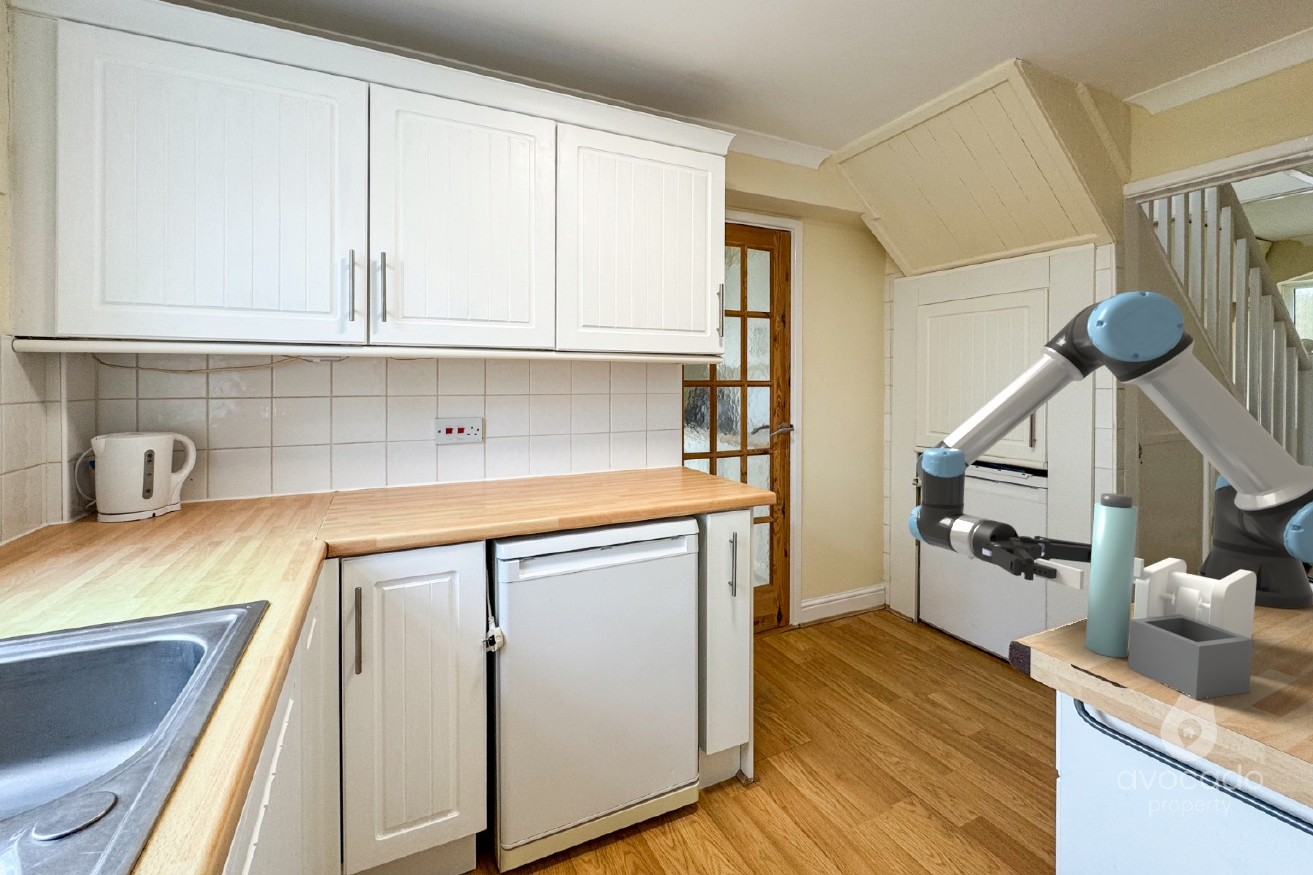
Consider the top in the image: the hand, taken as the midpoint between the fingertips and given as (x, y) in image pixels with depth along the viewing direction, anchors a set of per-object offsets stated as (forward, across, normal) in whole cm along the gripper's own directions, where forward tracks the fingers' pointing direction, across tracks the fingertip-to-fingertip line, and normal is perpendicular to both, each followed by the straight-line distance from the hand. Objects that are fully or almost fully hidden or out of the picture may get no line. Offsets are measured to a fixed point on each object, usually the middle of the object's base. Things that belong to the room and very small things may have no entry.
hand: (1113, 574), depth 85 cm
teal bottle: (-1, 0, -12) cm, 12 cm away
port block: (+9, -1, -12) cm, 15 cm away
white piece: (+3, -15, -12) cm, 19 cm away
